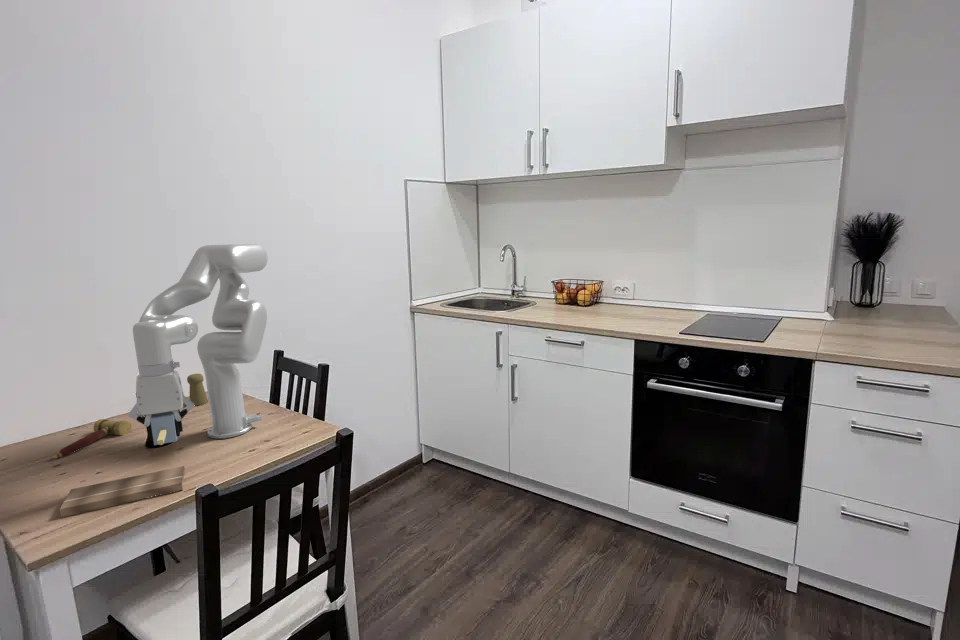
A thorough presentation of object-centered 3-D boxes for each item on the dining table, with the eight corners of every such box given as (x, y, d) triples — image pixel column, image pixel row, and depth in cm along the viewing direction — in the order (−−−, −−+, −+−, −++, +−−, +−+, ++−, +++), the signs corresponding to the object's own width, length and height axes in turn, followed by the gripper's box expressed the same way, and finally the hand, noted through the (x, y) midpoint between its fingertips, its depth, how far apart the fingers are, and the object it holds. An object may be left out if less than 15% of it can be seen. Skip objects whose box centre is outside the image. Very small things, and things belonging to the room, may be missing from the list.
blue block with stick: (178, 434, 138) (174, 409, 137) (174, 452, 127) (170, 425, 126) (156, 438, 136) (152, 413, 135) (150, 457, 125) (145, 429, 124)
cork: (205, 399, 193) (201, 370, 191) (210, 403, 188) (205, 374, 186) (187, 403, 189) (183, 374, 187) (191, 407, 185) (187, 378, 182)
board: (185, 473, 136) (184, 465, 136) (182, 490, 127) (181, 482, 127) (72, 496, 126) (71, 488, 126) (61, 517, 117) (59, 509, 117)
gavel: (65, 451, 145) (37, 449, 147) (69, 466, 146) (42, 463, 148) (130, 418, 164) (104, 416, 167) (133, 431, 166) (108, 429, 168)
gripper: (195, 361, 139) (203, 425, 142) (118, 370, 132) (129, 438, 135) (193, 367, 132) (202, 435, 135) (113, 377, 125) (124, 449, 128)
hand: (165, 436), depth 135 cm, fingers closed on blue block with stick, 5 cm apart
